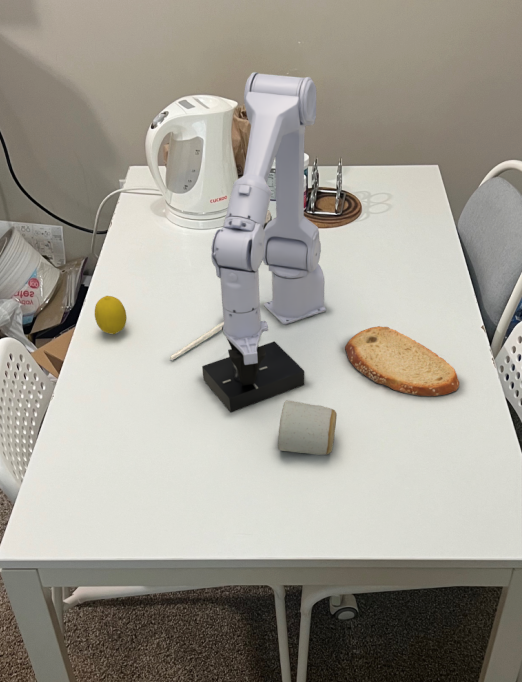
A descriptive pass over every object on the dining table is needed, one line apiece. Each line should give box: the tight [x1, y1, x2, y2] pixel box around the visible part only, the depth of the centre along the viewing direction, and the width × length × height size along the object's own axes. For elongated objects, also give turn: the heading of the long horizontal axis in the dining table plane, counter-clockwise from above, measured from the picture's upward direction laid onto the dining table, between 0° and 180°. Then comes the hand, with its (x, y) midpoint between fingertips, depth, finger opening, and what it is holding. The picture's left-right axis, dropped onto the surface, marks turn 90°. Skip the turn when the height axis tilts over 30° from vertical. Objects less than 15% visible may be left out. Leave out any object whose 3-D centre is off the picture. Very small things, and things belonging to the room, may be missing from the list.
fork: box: [169, 319, 224, 361], centre depth 136 cm, size 3×20×2 cm, turn 140°
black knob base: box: [201, 341, 305, 414], centre depth 125 cm, size 14×10×3 cm
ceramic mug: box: [277, 399, 338, 456], centre depth 113 cm, size 11×8×8 cm
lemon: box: [94, 295, 127, 335], centre depth 135 cm, size 6×6×8 cm
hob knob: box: [232, 362, 257, 382], centre depth 122 cm, size 4×4×4 cm
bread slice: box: [344, 325, 460, 397], centre depth 128 cm, size 18×18×4 cm
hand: (245, 374), depth 123 cm, fingers open, 5 cm apart
